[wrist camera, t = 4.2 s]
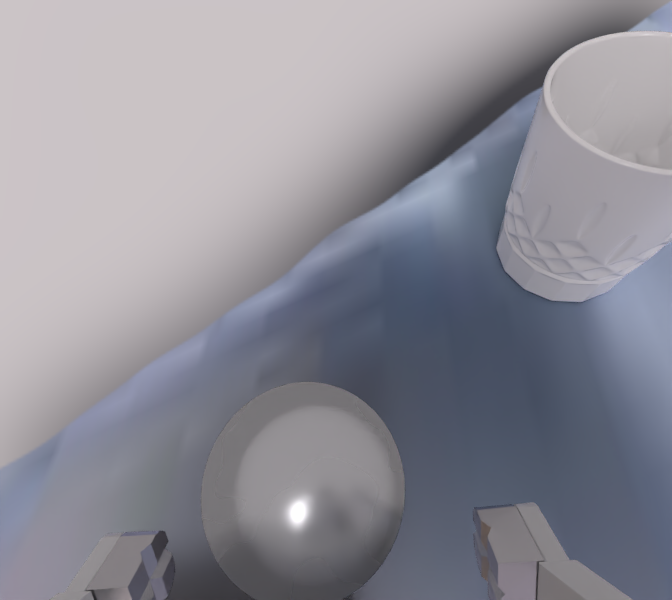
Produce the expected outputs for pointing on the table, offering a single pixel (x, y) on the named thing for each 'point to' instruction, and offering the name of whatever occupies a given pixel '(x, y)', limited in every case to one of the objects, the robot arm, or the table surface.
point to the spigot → (303, 494)
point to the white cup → (594, 170)
